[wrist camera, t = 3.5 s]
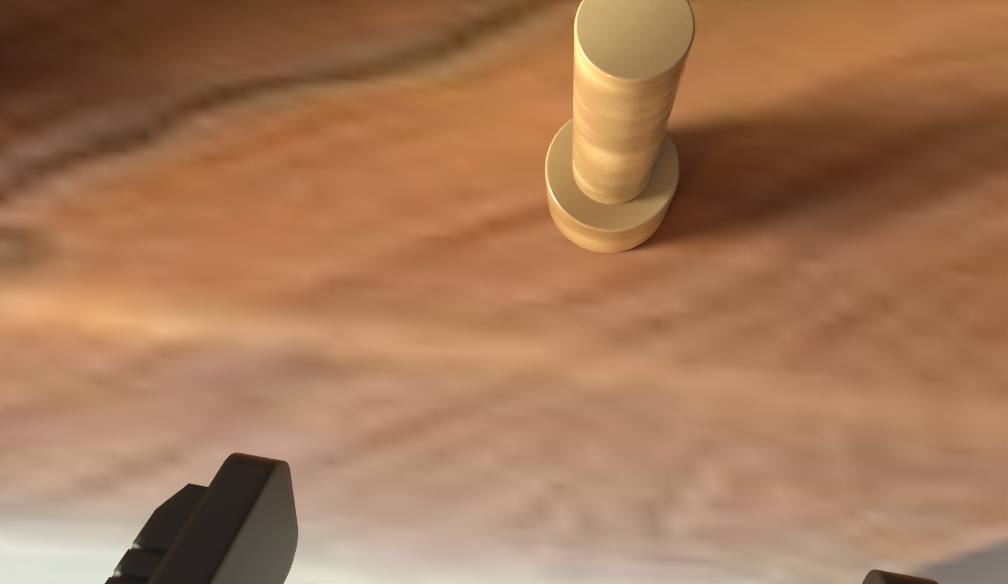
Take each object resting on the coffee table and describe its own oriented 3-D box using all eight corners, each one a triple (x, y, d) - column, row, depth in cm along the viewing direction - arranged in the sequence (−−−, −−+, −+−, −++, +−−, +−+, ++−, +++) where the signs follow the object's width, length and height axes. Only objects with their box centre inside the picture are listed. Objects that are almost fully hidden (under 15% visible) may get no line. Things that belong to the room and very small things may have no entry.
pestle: (522, 197, 29) (491, 32, 17) (604, 115, 29) (629, -103, 18) (610, 278, 28) (640, 161, 16) (693, 192, 29) (781, 18, 17)
